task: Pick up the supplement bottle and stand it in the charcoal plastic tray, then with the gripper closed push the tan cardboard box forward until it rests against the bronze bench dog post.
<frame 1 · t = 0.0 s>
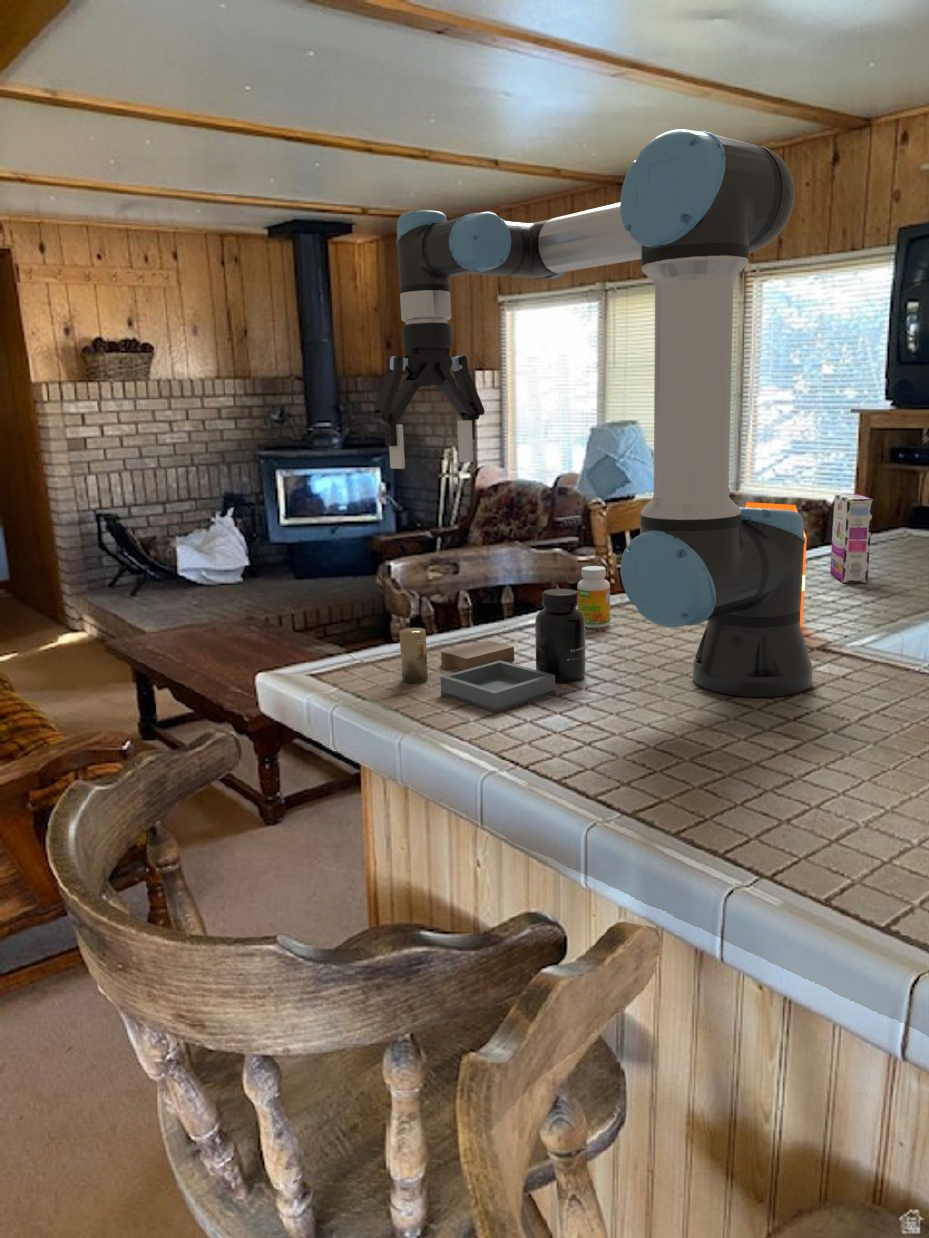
hand: (432, 465, 148), 28 cm above the kitchen counter, tool pointing down, fingers open, 13 cm apart
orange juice: (766, 628, 154), on the kitchen counter
tray: (498, 694, 124), on the kitchen counter
candy bar box: (848, 579, 189), on the kitchen counter
bench dog: (415, 679, 132), on the kitchen counter
supplement bottle: (560, 678, 131), on the kitchen counter
tan cardboard box: (478, 665, 140), on the kitchen counter
supplement bottle 2: (593, 626, 160), on the kitchen counter
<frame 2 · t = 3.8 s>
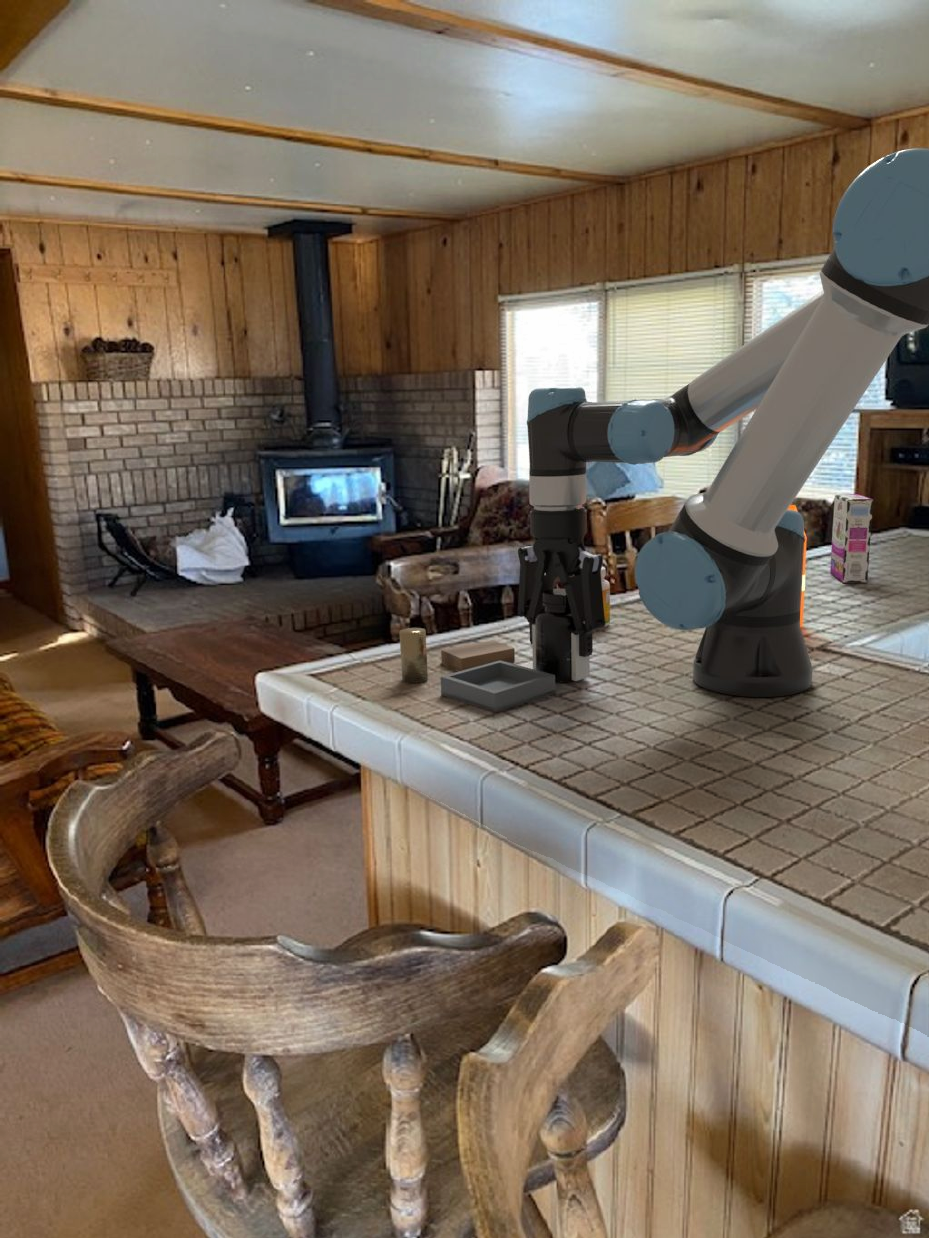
hand: (560, 672, 131), 1 cm above the kitchen counter, tool pointing down, fingers closed on supplement bottle, 7 cm apart
supplement bottle: (560, 677, 131), on the kitchen counter, touching gripper
everything else where it was.
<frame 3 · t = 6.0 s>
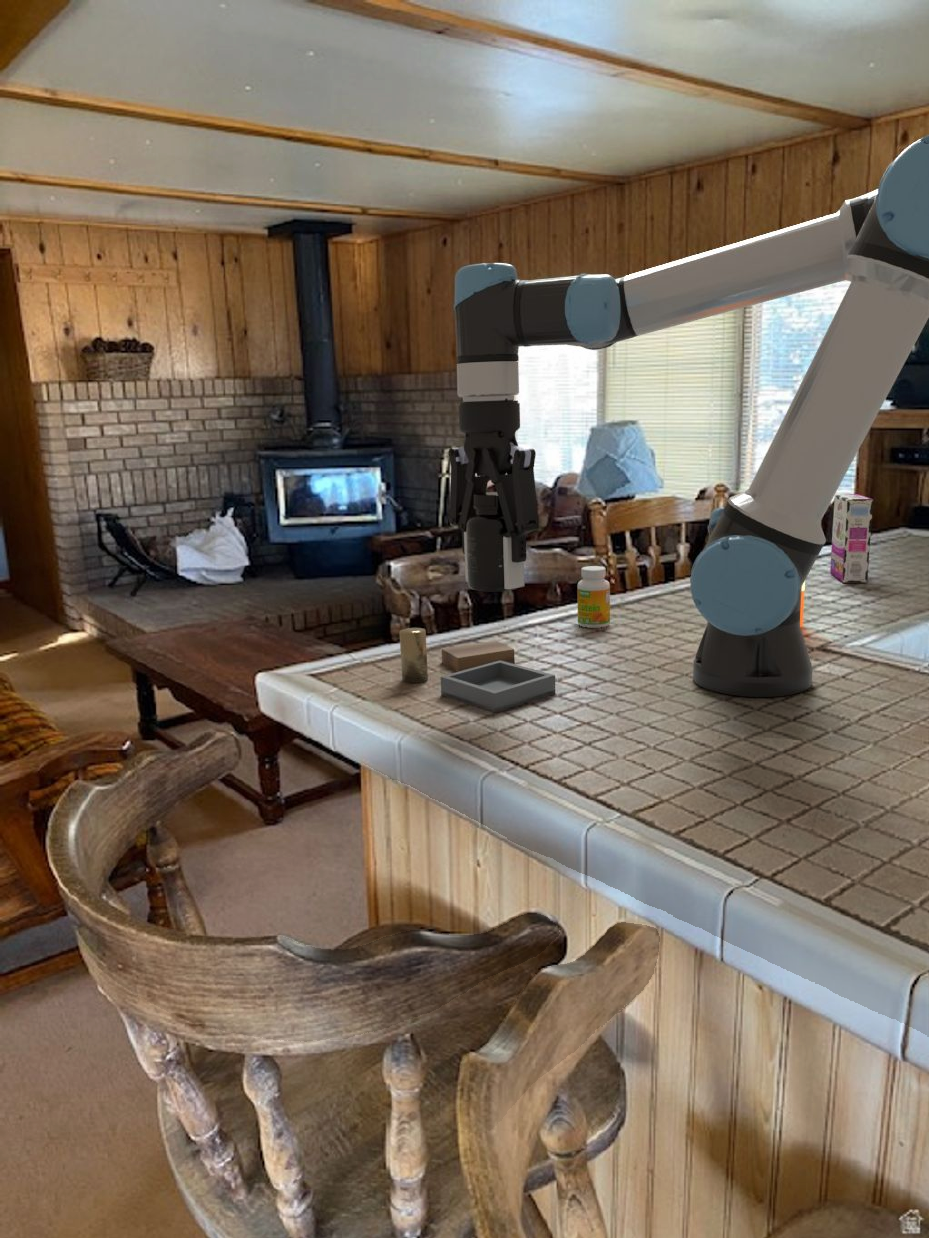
hand: (494, 583, 121), 15 cm above the kitchen counter, tool pointing down, fingers closed on supplement bottle, 7 cm apart
supplement bottle: (494, 588, 121), point 14 cm above the kitchen counter, touching gripper
everything else where it was.
when the fingers open (3 cm above the kitchen counter, at t = 8.4 s): supplement bottle drops 2 cm, resting on tray.
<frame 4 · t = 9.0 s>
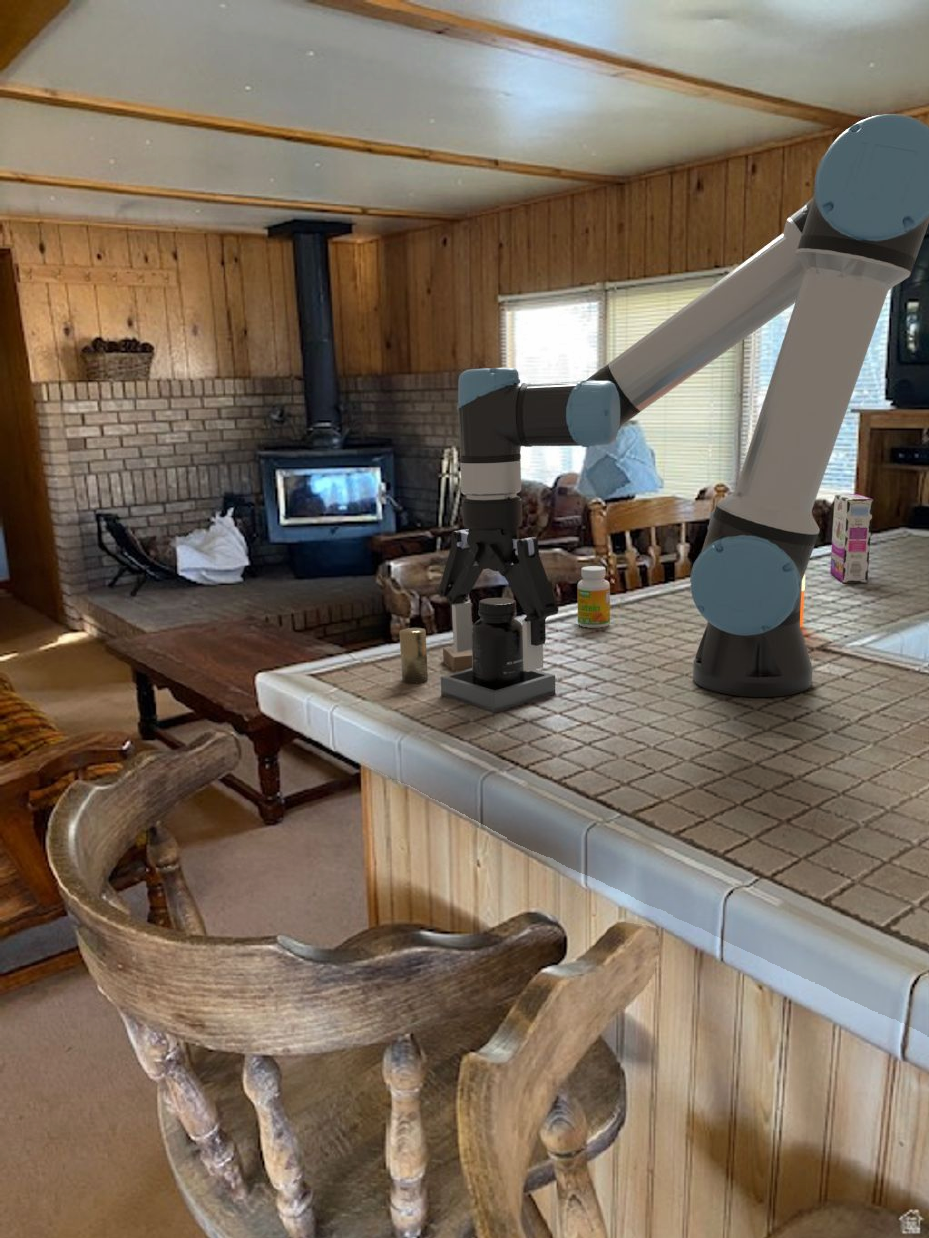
hand: (496, 659, 123), 5 cm above the kitchen counter, tool pointing down, fingers open, 13 cm apart
supplement bottle: (498, 691, 124), resting on tray
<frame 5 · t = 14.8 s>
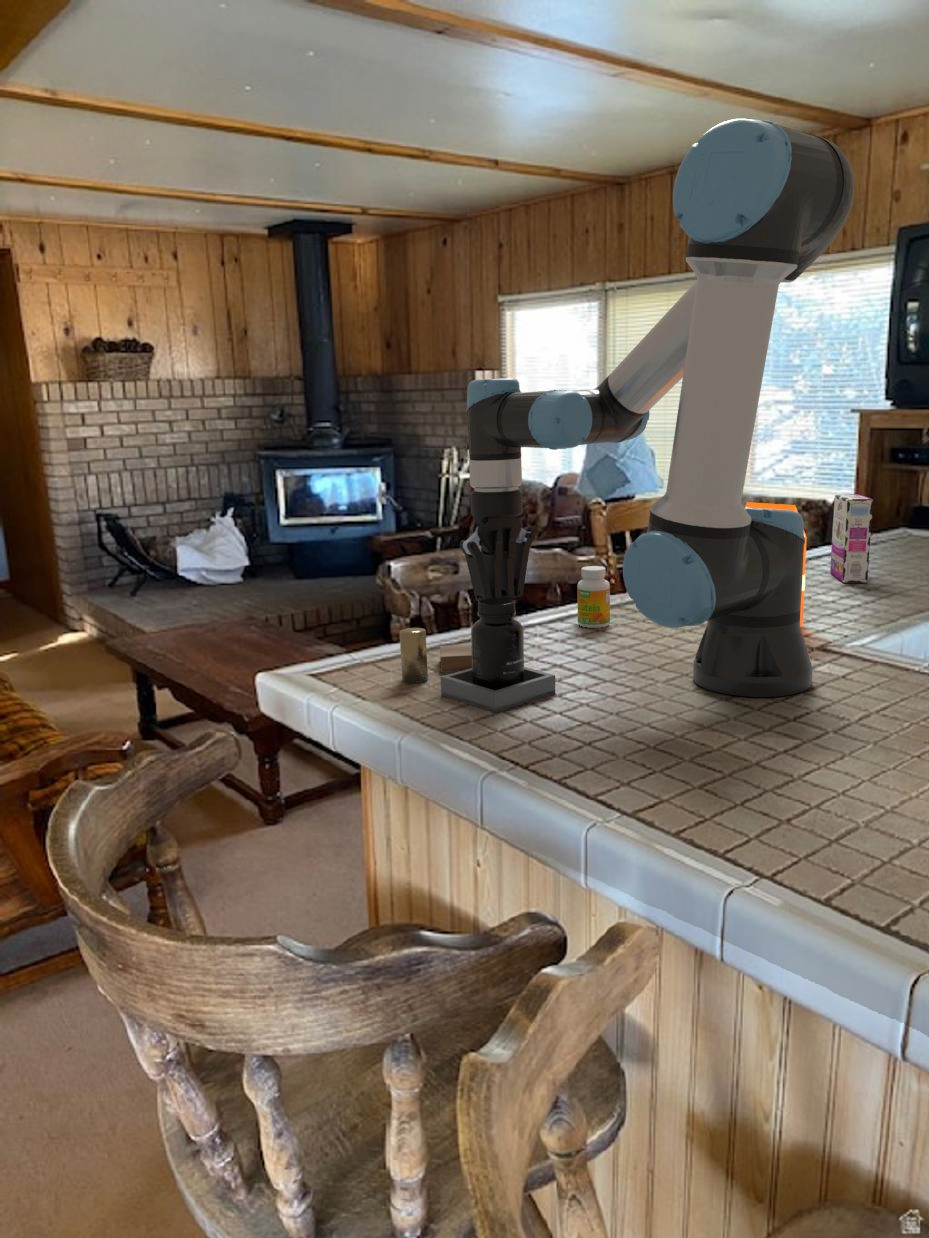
hand: (501, 645, 142), 2 cm above the kitchen counter, tool pointing down, fingers closed
tan cardboard box: (471, 666, 139), on the kitchen counter
everything else where it was.
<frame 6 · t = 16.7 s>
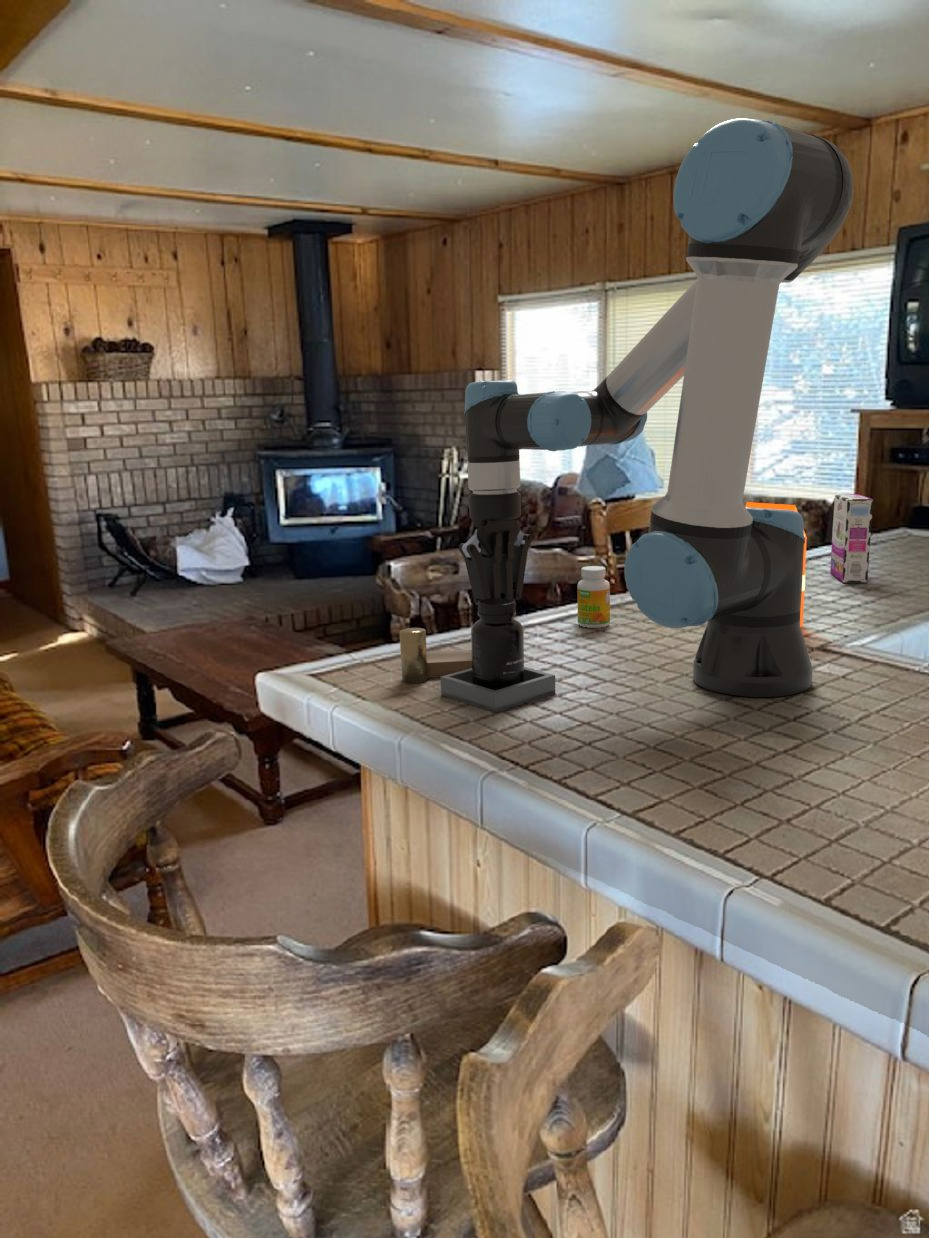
hand: (500, 649, 142), 1 cm above the kitchen counter, tool pointing down, fingers closed
tan cardboard box: (457, 672, 137), on the kitchen counter
everything else where it was.
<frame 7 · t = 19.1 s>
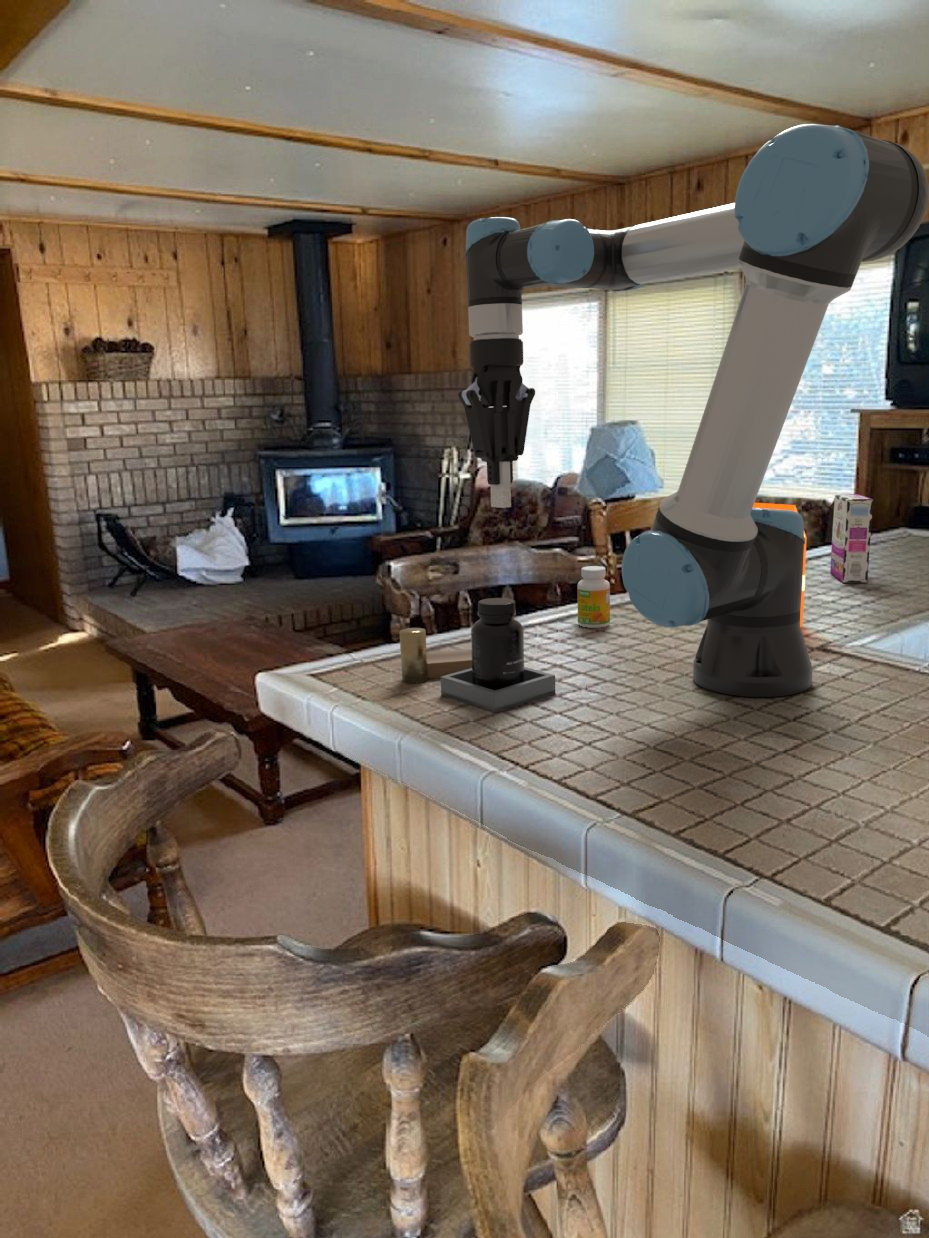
hand: (501, 506, 138), 22 cm above the kitchen counter, tool pointing down, fingers closed
nothing on the kitchen counter moved.
at the end: supplement bottle 0.1 cm off-centre on the tray, point 0.3 cm above the tray's base; supplement bottle tilted 0°; tan cardboard box 1.6 cm from the target spot, on the kitchen counter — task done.
